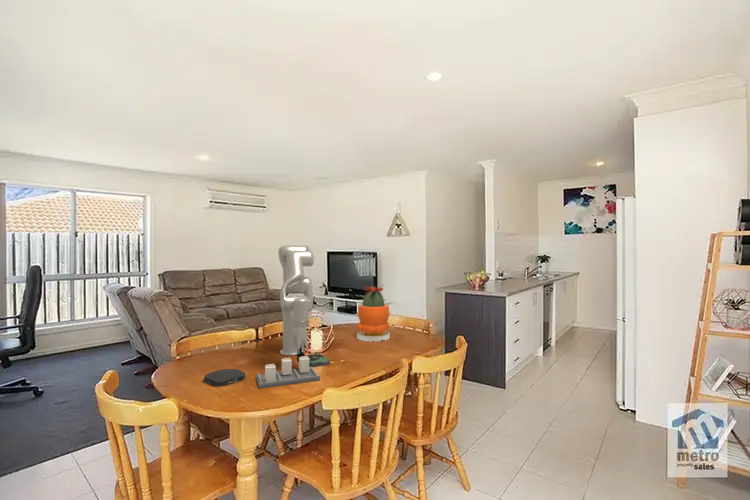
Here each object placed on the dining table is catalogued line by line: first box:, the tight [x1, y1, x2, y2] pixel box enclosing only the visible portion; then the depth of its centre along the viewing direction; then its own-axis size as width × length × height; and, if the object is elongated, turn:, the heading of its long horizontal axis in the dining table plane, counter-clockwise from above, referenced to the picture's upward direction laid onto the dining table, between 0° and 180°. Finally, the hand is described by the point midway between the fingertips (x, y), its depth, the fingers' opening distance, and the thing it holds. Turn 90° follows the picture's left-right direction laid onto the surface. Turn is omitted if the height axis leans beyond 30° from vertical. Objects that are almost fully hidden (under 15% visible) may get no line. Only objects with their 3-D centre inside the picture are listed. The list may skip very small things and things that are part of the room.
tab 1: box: [264, 363, 277, 382], centre depth 162 cm, size 4×4×7 cm
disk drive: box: [304, 353, 331, 368], centre depth 193 cm, size 10×3×15 cm
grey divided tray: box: [255, 366, 321, 389], centre depth 168 cm, size 14×26×2 cm, turn 113°
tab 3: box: [298, 355, 310, 373], centre depth 174 cm, size 4×4×7 cm
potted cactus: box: [356, 284, 392, 342], centre depth 242 cm, size 22×22×35 cm
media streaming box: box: [203, 368, 246, 387], centre depth 167 cm, size 15×15×3 cm
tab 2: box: [280, 357, 293, 375], centre depth 171 cm, size 4×4×7 cm
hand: (300, 361), depth 181 cm, fingers closed
